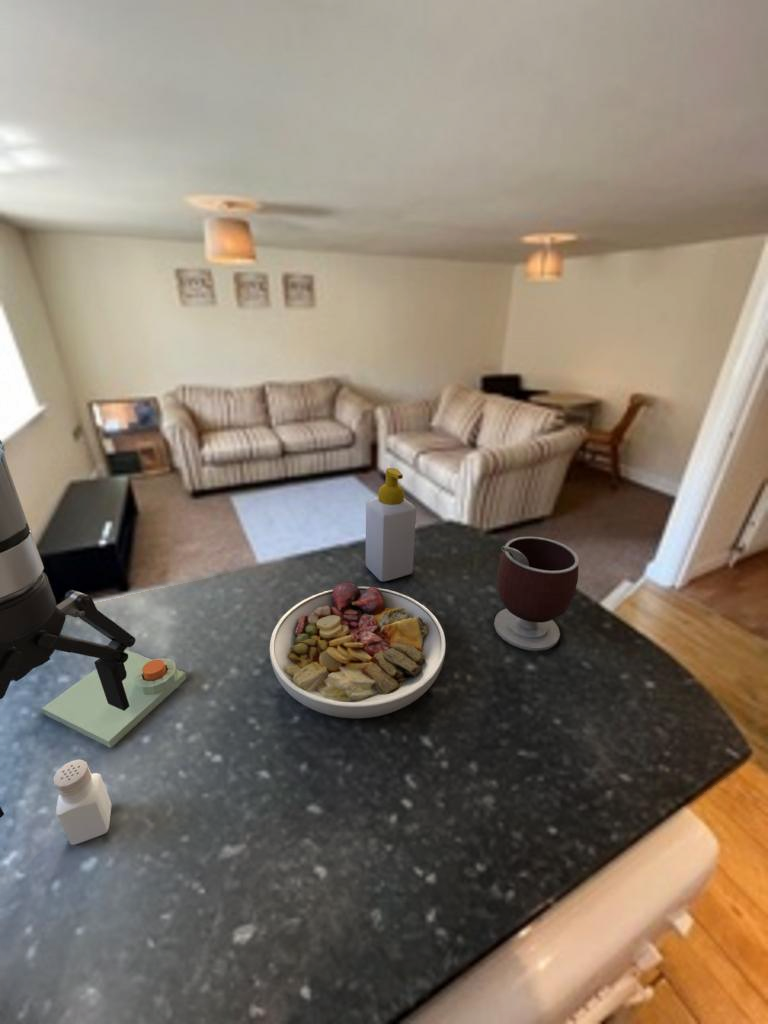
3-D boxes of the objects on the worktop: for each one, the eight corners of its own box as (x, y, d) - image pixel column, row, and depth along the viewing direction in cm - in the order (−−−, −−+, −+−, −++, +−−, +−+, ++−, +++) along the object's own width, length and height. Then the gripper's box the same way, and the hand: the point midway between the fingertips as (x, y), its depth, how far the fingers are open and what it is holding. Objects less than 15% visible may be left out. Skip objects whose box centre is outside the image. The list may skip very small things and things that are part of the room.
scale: (44, 714, 67) (38, 700, 66) (125, 654, 79) (121, 641, 78) (111, 748, 62) (105, 733, 61) (187, 678, 74) (184, 664, 73)
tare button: (139, 677, 71) (137, 670, 70) (156, 664, 74) (154, 656, 73) (154, 683, 70) (152, 676, 69) (170, 670, 72) (169, 662, 72)
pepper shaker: (75, 815, 54) (52, 763, 50) (113, 802, 56) (93, 750, 52) (69, 849, 51) (44, 796, 47) (109, 834, 52) (88, 781, 48)
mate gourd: (532, 601, 96) (548, 517, 87) (579, 643, 84) (604, 551, 76) (469, 617, 91) (480, 529, 82) (511, 664, 79) (529, 567, 70)
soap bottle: (381, 584, 100) (383, 480, 90) (363, 565, 107) (363, 466, 97) (414, 574, 104) (421, 473, 94) (395, 557, 111) (399, 461, 101)
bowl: (473, 706, 70) (478, 668, 67) (278, 751, 63) (274, 711, 59) (410, 596, 96) (412, 565, 93) (267, 619, 89) (263, 586, 85)
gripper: (95, 521, 51) (136, 664, 60) (-252, 670, 30) (-110, 856, 39) (144, 533, 48) (179, 681, 57) (-199, 706, 27) (-60, 897, 36)
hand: (62, 752), depth 48 cm, fingers open, 13 cm apart
